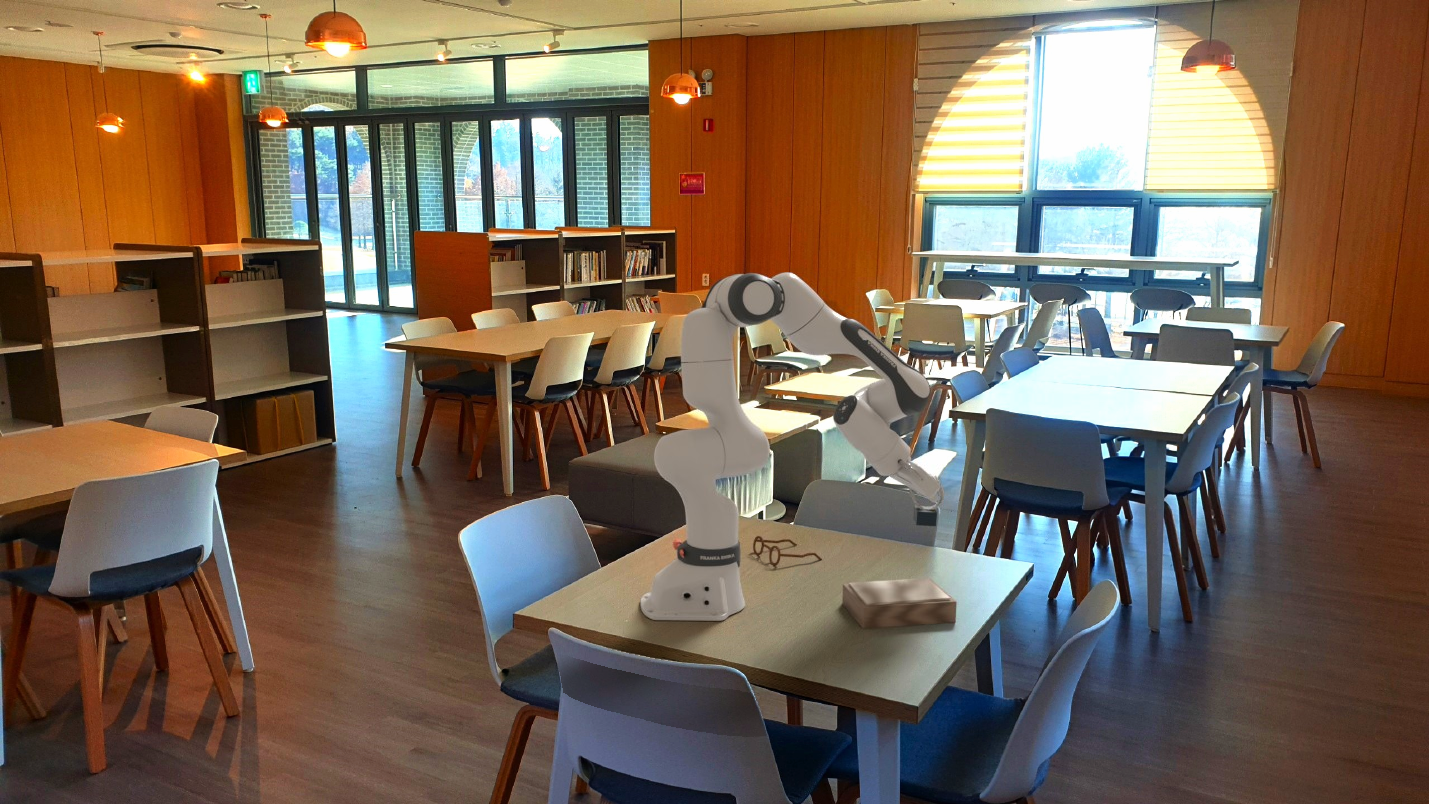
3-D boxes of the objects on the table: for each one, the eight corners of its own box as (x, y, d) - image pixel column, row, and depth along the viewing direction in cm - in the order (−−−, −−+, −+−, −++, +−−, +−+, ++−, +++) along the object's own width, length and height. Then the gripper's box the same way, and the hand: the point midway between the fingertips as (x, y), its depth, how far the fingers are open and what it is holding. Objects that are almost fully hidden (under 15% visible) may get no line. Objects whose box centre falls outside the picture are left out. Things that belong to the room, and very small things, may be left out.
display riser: (863, 628, 207) (863, 605, 206) (842, 603, 220) (842, 581, 219) (955, 622, 210) (956, 599, 209) (929, 597, 224) (930, 576, 223)
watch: (944, 526, 224) (948, 478, 223) (908, 524, 225) (911, 476, 223) (941, 520, 230) (945, 472, 228) (905, 518, 230) (908, 470, 229)
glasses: (751, 553, 255) (751, 534, 254) (796, 546, 260) (797, 527, 259) (777, 569, 243) (777, 549, 242) (823, 562, 249) (824, 542, 248)
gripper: (921, 455, 213) (961, 498, 217) (880, 436, 232) (918, 475, 236) (900, 477, 212) (941, 519, 216) (862, 456, 232) (900, 495, 236)
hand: (929, 496), depth 226 cm, fingers closed on watch, 4 cm apart
